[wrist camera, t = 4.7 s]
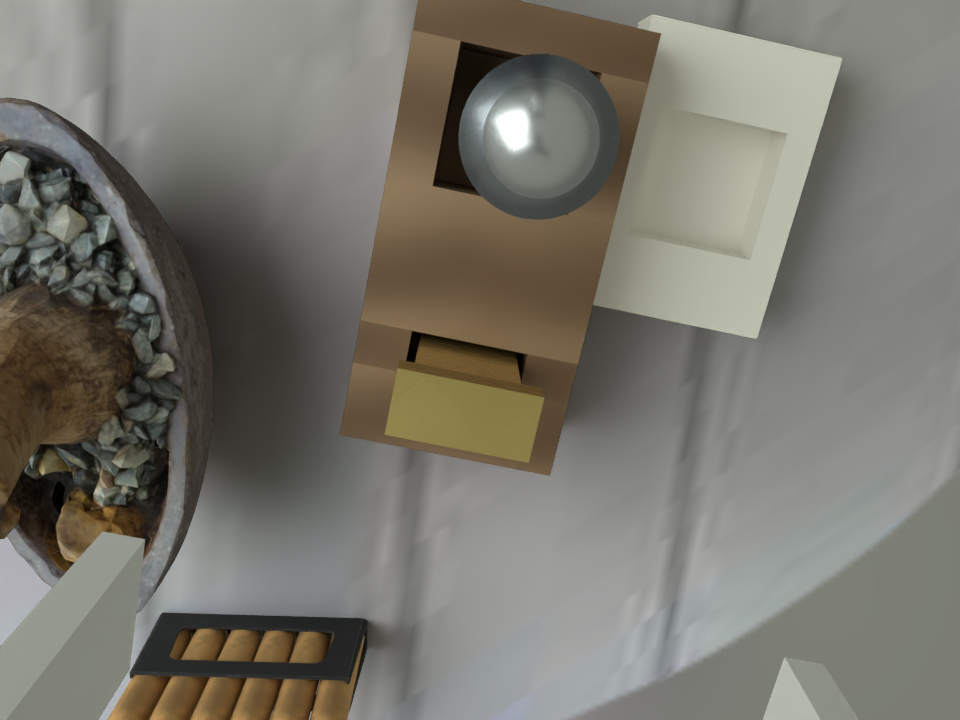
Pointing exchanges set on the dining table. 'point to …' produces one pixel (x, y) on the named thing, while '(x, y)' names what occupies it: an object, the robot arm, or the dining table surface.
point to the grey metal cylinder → (538, 136)
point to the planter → (94, 355)
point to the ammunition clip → (245, 668)
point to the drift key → (465, 399)
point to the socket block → (487, 219)
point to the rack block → (714, 176)
